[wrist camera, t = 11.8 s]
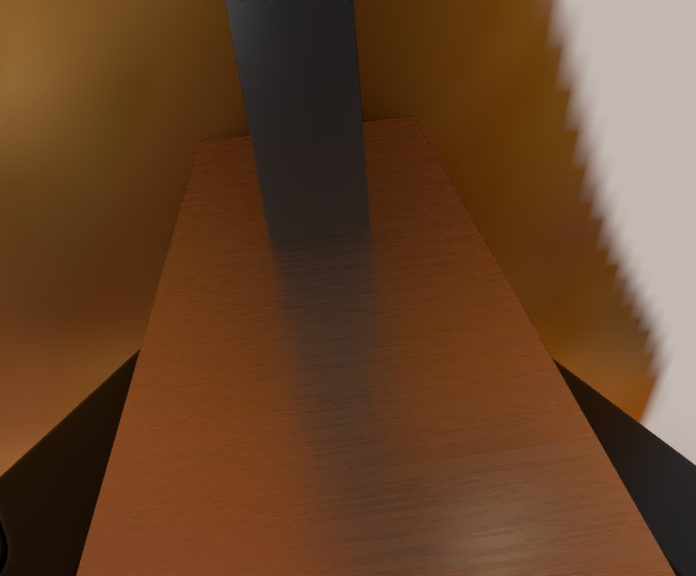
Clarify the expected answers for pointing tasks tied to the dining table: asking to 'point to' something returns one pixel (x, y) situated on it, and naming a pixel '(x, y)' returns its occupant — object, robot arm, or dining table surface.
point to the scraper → (345, 361)
